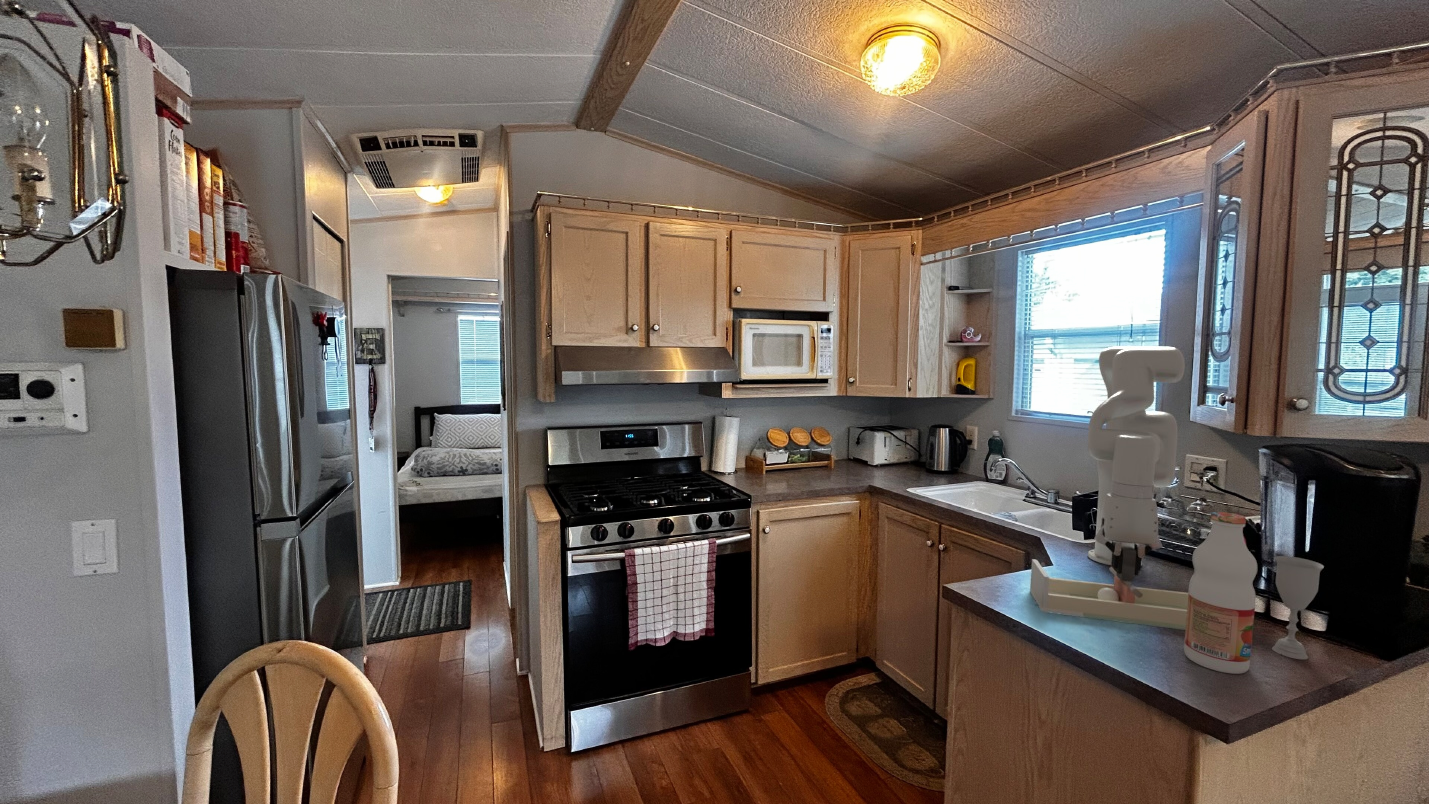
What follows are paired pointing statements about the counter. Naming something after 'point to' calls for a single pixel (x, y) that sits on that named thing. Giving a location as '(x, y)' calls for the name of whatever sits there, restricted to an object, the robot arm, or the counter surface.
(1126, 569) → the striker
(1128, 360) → the robot arm
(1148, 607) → the cream long tray
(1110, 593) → the ball
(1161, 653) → the counter surface
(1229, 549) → the fruit juice
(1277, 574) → the chalice
